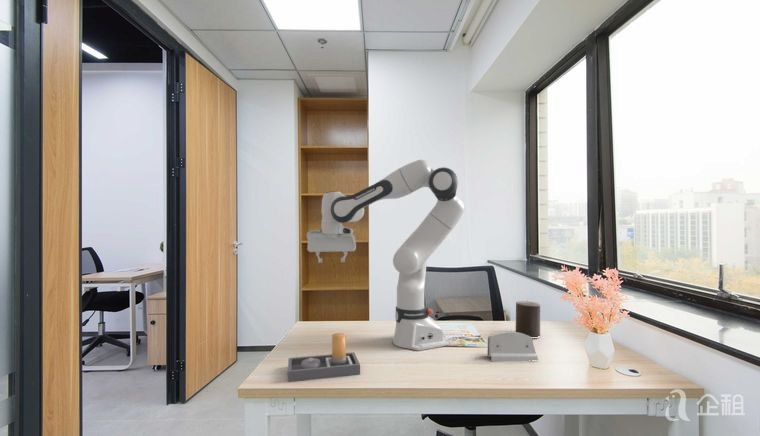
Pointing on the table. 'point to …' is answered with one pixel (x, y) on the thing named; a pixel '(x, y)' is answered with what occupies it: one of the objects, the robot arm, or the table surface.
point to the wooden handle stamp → (338, 349)
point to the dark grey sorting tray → (321, 367)
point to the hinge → (511, 347)
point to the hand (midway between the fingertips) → (331, 262)
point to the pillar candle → (528, 318)
